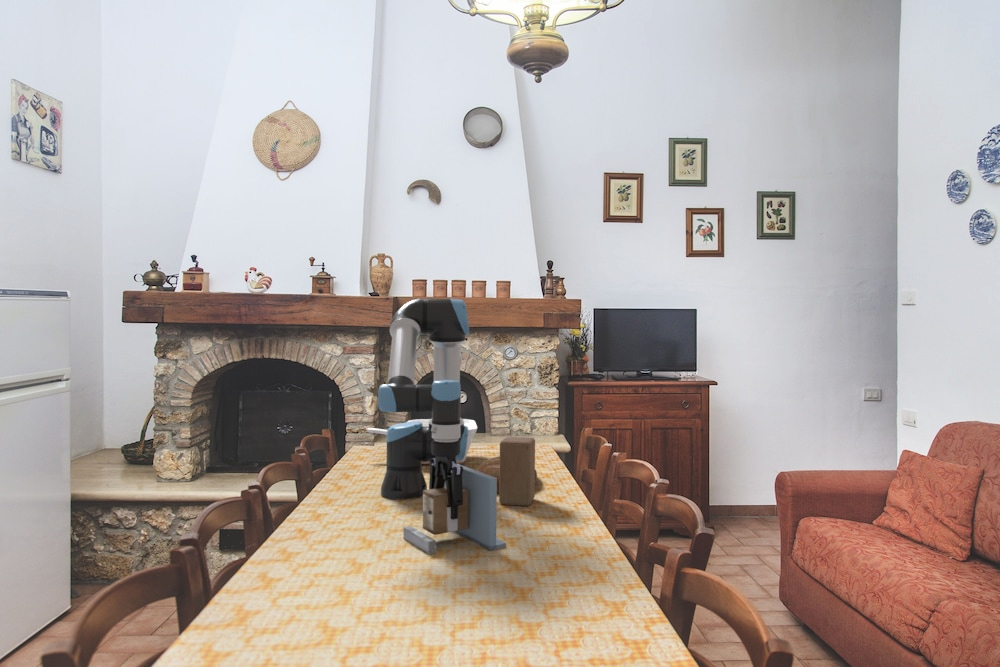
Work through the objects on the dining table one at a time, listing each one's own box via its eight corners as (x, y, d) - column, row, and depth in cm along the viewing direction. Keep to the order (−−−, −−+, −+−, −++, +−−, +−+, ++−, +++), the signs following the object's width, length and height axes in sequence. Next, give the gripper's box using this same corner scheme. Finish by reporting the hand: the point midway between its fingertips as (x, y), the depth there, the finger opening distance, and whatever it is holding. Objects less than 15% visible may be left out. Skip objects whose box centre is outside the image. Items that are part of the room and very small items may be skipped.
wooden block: (530, 507, 206) (530, 442, 206) (498, 505, 208) (499, 441, 208) (534, 498, 216) (535, 437, 215) (504, 496, 218) (505, 435, 217)
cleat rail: (403, 538, 175) (403, 527, 175) (410, 537, 177) (410, 525, 177) (428, 554, 164) (428, 542, 164) (435, 552, 165) (435, 540, 165)
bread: (473, 496, 219) (473, 470, 219) (476, 470, 256) (477, 448, 256) (540, 496, 219) (540, 471, 219) (534, 471, 257) (534, 449, 256)
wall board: (439, 523, 188) (439, 460, 188) (454, 521, 191) (455, 458, 191) (489, 550, 167) (490, 479, 166) (506, 547, 170) (506, 476, 169)
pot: (478, 467, 260) (478, 429, 260) (363, 469, 256) (363, 430, 256) (474, 453, 289) (474, 418, 288) (370, 454, 284) (370, 419, 284)
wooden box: (419, 529, 174) (419, 490, 174) (455, 522, 180) (455, 485, 180) (431, 535, 168) (431, 496, 168) (468, 528, 174) (468, 490, 174)
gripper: (416, 435, 180) (415, 520, 180) (452, 446, 164) (451, 540, 164) (440, 433, 184) (439, 516, 184) (477, 443, 168) (477, 534, 168)
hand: (445, 527), depth 174 cm, fingers closed on wooden box, 6 cm apart
